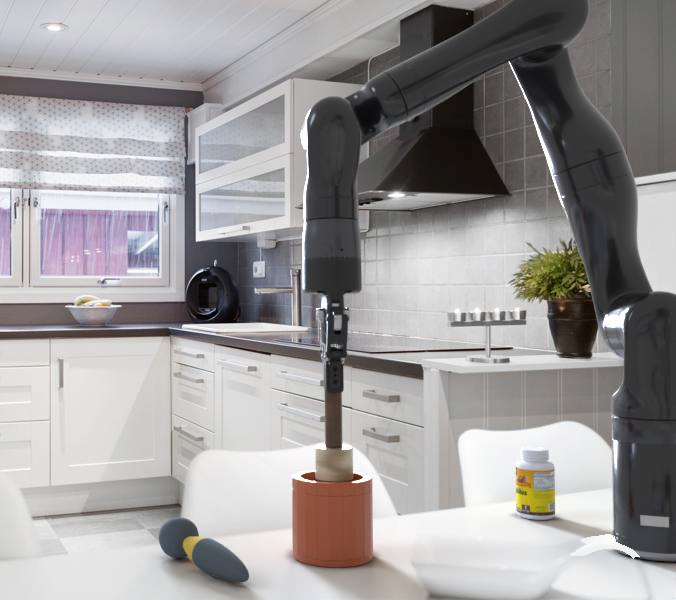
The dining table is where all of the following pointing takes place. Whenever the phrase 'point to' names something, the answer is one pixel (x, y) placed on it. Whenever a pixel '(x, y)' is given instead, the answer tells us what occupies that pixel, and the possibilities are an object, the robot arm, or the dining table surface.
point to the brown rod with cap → (333, 444)
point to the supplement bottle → (535, 484)
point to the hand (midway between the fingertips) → (333, 391)
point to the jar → (332, 520)
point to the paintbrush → (201, 550)
